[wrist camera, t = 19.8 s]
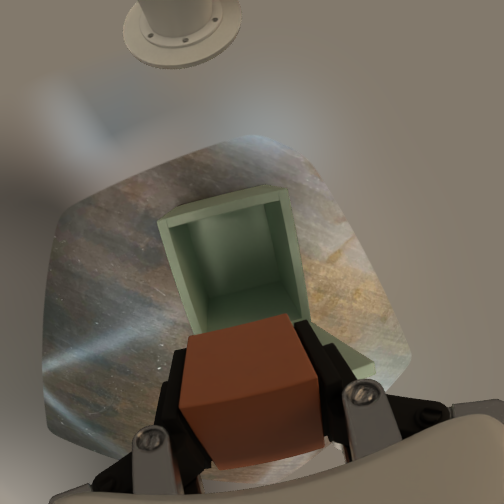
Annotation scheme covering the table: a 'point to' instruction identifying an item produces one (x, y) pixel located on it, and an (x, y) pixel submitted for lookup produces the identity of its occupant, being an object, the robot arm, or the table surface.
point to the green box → (236, 258)
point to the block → (251, 394)
